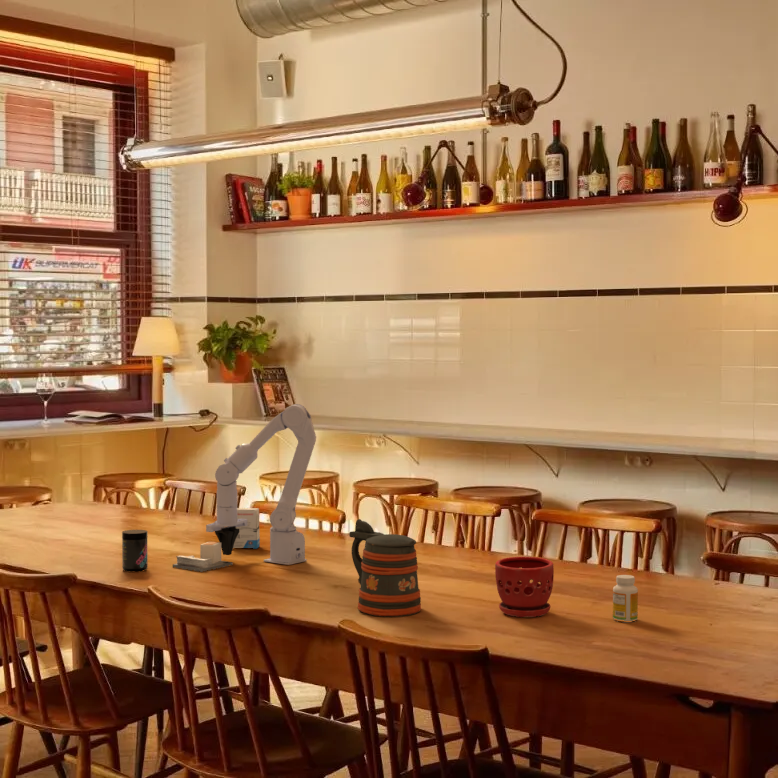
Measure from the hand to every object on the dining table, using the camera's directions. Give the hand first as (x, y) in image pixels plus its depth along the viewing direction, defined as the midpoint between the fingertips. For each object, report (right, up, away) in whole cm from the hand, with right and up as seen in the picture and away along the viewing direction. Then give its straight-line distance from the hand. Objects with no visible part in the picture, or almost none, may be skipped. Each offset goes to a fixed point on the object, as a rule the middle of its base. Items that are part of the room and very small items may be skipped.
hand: (227, 554), depth 330 cm
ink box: (+2, -1, +22) cm, 22 cm away
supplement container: (-23, -3, -13) cm, 27 cm away
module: (-4, -1, -5) cm, 6 cm away
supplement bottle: (+98, -5, -70) cm, 120 cm away
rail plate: (-6, -2, -8) cm, 10 cm away
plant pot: (+76, -5, -64) cm, 99 cm away
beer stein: (+44, -5, -59) cm, 73 cm away
